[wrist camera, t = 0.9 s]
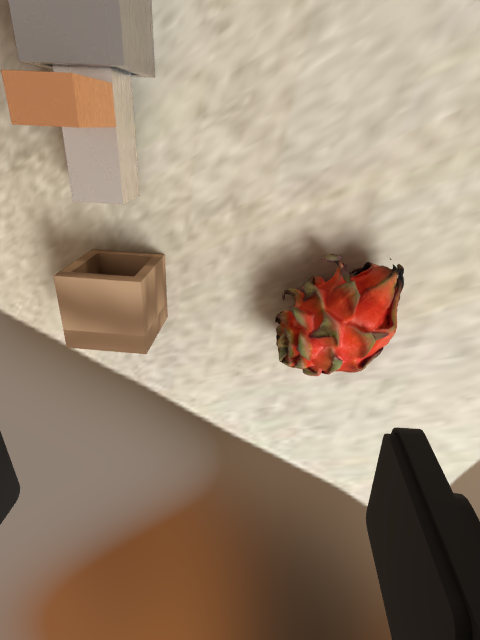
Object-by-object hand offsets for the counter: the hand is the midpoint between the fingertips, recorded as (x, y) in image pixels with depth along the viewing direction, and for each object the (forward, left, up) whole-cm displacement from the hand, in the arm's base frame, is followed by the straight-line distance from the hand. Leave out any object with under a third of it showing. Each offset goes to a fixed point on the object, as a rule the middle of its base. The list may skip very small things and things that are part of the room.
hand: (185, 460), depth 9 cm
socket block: (+6, -10, -25) cm, 28 cm away
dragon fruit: (+6, +8, -25) cm, 27 cm away
